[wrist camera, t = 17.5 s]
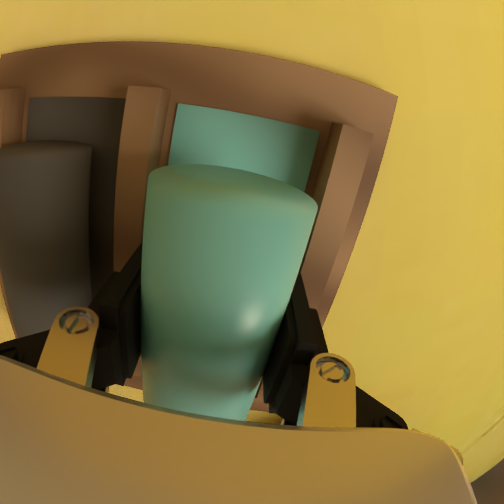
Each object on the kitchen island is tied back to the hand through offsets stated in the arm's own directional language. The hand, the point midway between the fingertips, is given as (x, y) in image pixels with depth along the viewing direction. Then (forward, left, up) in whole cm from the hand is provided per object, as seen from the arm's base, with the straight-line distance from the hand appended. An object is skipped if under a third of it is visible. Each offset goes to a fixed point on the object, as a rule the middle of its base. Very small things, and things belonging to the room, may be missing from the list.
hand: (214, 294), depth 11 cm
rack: (0, +4, -4) cm, 5 cm away
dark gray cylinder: (0, +8, -3) cm, 8 cm away
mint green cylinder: (0, 0, -1) cm, 1 cm away
